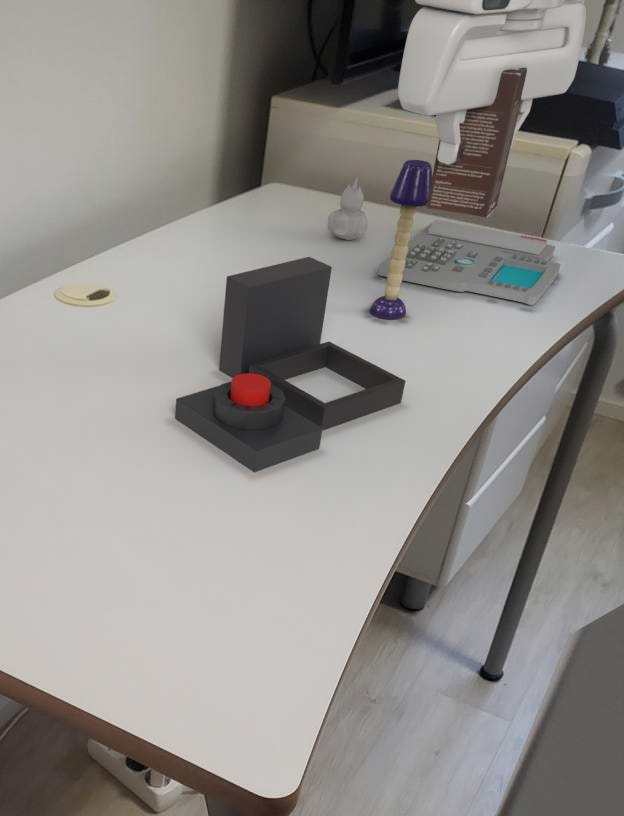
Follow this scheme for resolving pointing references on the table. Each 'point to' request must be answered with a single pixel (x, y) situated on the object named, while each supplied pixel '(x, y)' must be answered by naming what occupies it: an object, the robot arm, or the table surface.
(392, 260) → the toy lamp
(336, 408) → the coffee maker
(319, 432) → the block
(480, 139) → the box
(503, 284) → the office telephone
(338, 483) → the table surface
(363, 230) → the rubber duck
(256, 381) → the power button
